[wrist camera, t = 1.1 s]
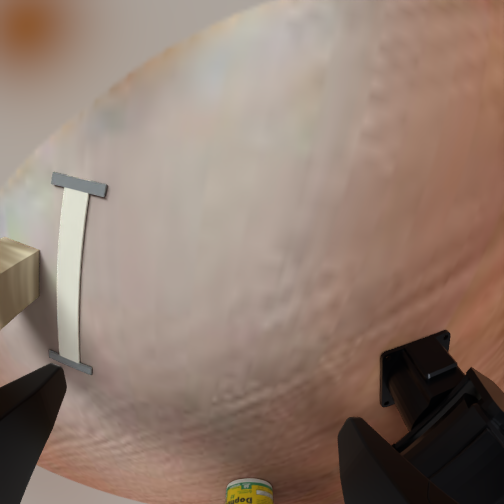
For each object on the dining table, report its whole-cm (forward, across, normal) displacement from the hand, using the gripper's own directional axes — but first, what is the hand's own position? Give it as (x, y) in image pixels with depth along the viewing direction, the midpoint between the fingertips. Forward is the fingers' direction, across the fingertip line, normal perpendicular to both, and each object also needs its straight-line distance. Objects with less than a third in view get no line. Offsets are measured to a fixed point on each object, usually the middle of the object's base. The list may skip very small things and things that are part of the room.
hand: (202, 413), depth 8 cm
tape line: (+12, +11, +4) cm, 17 cm away
